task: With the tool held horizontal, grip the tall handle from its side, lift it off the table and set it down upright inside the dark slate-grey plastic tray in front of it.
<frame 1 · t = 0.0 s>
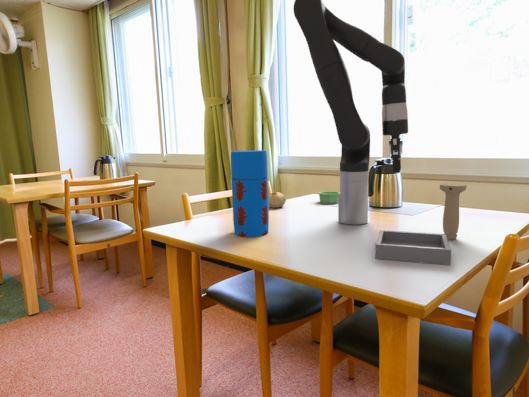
hand: (397, 171, 120), 17 cm above the table, tool pointing down, fingers open, 8 cm apart
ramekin: (329, 203, 165), on the table
onion: (276, 208, 156), on the table
thermos: (251, 233, 117), on the table
tray: (411, 252, 93), on the table
handle: (449, 239, 104), on the table
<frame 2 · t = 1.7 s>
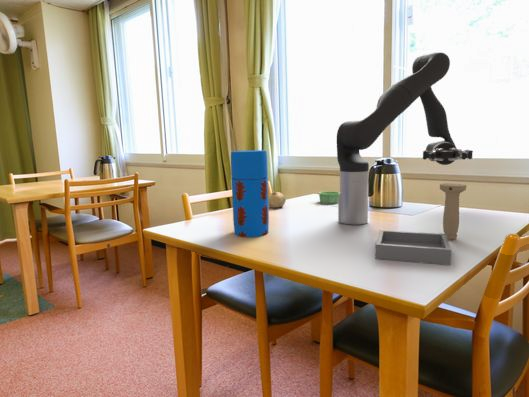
hand: (448, 156, 115), 22 cm above the table, tool horizontal, fingers open, 8 cm apart
nothing on the table moved.
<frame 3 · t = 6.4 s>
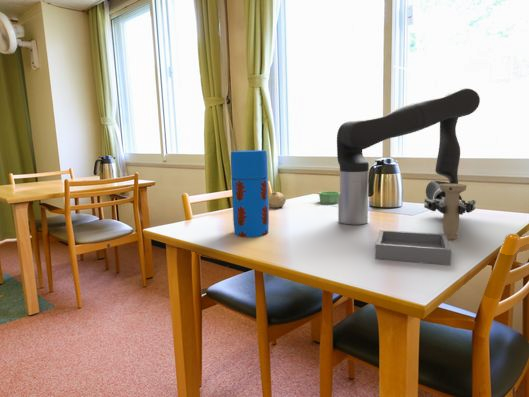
hand: (452, 210, 100), 9 cm above the table, tool horizontal, fingers closed on handle, 3 cm apart
handle: (449, 239, 104), on the table, touching gripper
everything else where it was.
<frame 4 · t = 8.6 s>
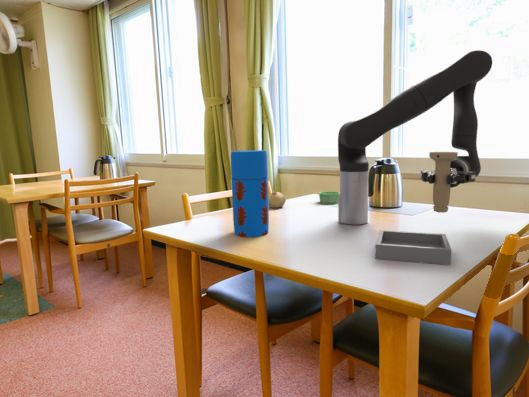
hand: (439, 179, 92), 18 cm above the table, tool horizontal, fingers closed on handle, 3 cm apart
handle: (440, 212, 96), point 9 cm above the table, touching gripper
everything else where it was.
when the fingers open (11 cm above the table, at t = 11.3 s): handle drops 1 cm, resting on tray.
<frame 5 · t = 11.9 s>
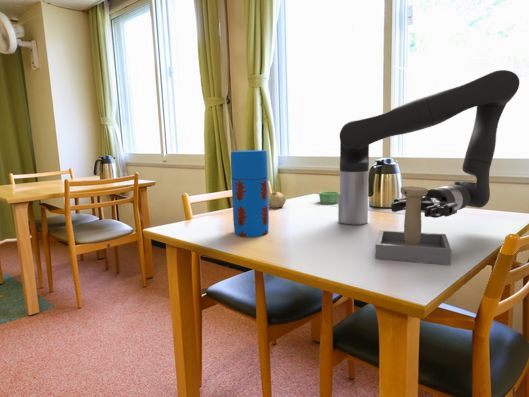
hand: (408, 210, 90), 11 cm above the table, tool horizontal, fingers open, 8 cm apart
handle: (411, 249, 93), point 1 cm above the table, touching tray
everything else where it was.
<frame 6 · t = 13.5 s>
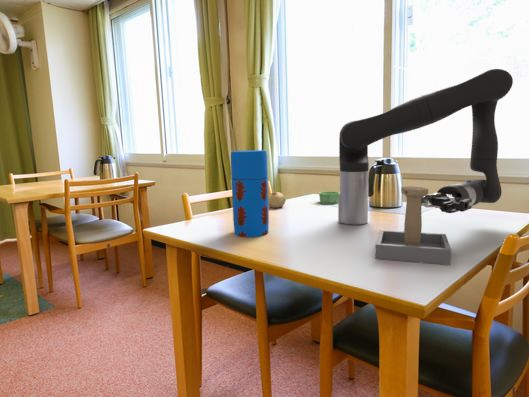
hand: (426, 205, 95), 11 cm above the table, tool horizontal, fingers open, 8 cm apart
nothing on the table moved.
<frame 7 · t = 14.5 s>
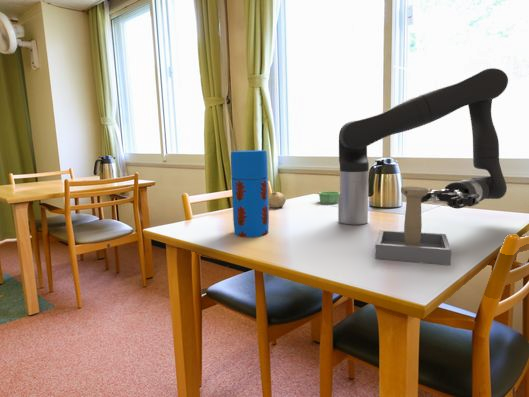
hand: (435, 200, 98), 12 cm above the table, tool horizontal, fingers open, 8 cm apart
nothing on the table moved.
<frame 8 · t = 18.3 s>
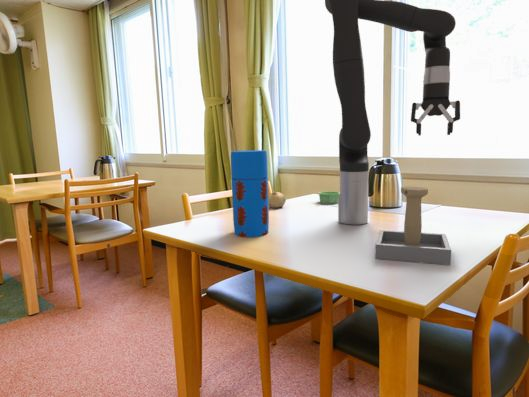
hand: (433, 135, 121), 28 cm above the table, tool pointing down, fingers open, 8 cm apart
nothing on the table moved.
at the end: handle inside the target area on the tray (0.1 cm from its centre), point 0.8 cm above the tray's base; handle tilted 0°; the gripper is holding nothing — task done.
